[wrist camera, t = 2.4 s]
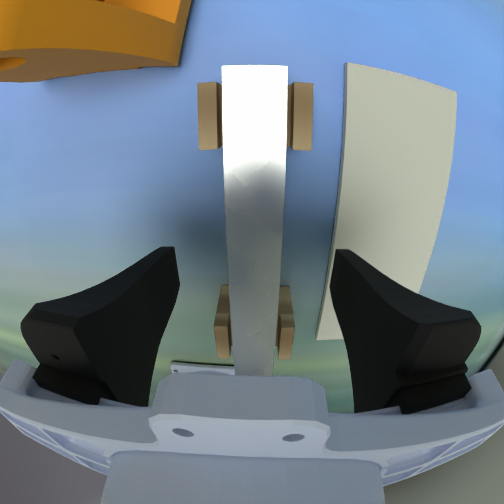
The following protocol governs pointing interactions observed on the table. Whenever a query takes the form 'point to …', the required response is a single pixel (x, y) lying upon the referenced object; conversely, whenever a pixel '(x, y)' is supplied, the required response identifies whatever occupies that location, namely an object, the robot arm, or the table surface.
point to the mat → (390, 176)
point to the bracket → (88, 36)
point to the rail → (254, 207)
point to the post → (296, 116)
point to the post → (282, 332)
